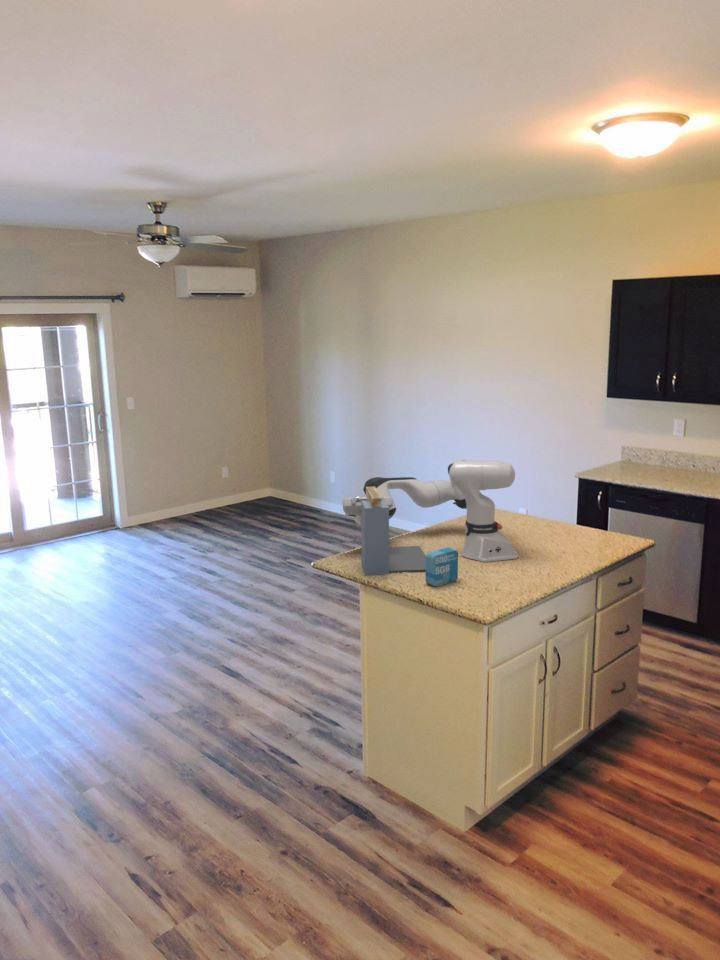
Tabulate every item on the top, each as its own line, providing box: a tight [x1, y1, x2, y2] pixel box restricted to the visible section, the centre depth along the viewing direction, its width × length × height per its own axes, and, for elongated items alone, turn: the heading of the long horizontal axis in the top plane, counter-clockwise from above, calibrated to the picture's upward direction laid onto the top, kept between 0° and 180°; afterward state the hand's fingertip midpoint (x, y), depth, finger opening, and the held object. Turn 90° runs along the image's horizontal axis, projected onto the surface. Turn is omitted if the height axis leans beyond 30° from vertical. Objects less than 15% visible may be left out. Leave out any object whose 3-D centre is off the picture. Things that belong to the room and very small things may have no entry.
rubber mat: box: [389, 545, 426, 574], centre depth 299 cm, size 17×30×1 cm, turn 6°
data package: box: [424, 547, 459, 587], centre depth 272 cm, size 12×4×12 cm, turn 126°
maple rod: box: [365, 487, 381, 508], centre depth 286 cm, size 4×20×4 cm, turn 6°
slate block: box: [360, 500, 390, 577], centre depth 284 cm, size 9×12×26 cm
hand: (369, 498), depth 295 cm, fingers open, 8 cm apart
